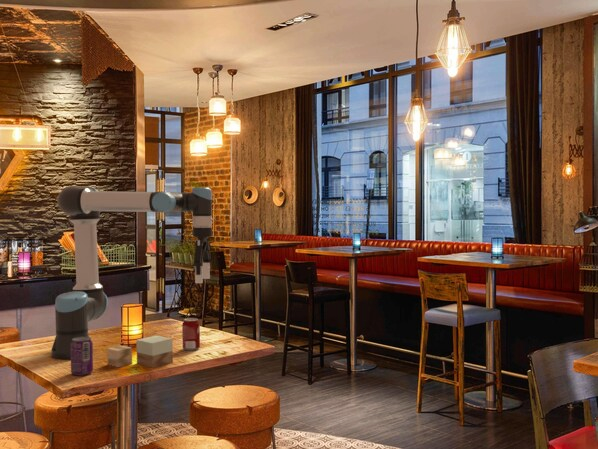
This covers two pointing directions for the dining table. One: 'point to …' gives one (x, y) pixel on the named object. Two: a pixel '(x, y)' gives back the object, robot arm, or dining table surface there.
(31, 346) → the dining table surface
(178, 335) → the dining table surface
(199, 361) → the dining table surface
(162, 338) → the tower top block
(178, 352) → the dining table surface
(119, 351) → the oak cube
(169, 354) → the tower base block
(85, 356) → the beverage can
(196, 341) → the soda can
